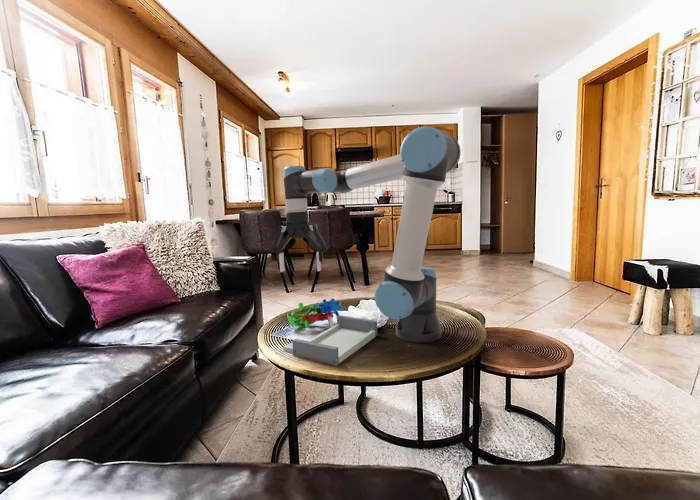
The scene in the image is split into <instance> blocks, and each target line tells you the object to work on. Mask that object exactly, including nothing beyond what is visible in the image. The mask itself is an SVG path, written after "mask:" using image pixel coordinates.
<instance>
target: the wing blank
mask: <svg viewBox="0 0 700 500" xmlns="http://www.w3.org/2000/svg"><path fill="white" fill-rule="evenodd" d="M298 339H299V338H298ZM299 340H301V339H299ZM303 340H304V339H303ZM304 341H306V340H304ZM282 350H283V352H287V353H291V354H293V344H292V341H291V342H290V343H288V344H286V345H284V346H283V349H282Z"/></svg>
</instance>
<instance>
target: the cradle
mask: <svg viewBox="0 0 700 500" xmlns="http://www.w3.org/2000/svg"><path fill="white" fill-rule="evenodd" d="M377 336H378V321H377V320H375V319H374V320H373V319H368V318H360V317H353V316H349V315H348V316H347V315H340V314H339V315H338V316H337V317H336V324H334V326H333V327H331V328H330V327H329V328H328V329H326V330H324V331H322V332H320V333H319V334H317V335H316V336H314V337H312V338H310V339H309V340H305V341H304V339H300V340H299V338H294V339H292V341H291V342H292V344H293V353H292V356H293V357H297V358H302V359H307V360H311V361H315V362H318V363H323V364H327V365H330V366H331V365H332V366H335V367H336V366H338V365H339V364H341V363H342V362H343V361H344V360H346V359H347V358H348V357H350V356H351V355H353V354H355V353H356V352H357V351H358V350H361V348H362V347H364V346H365V345H366V344H368V343H369V342H370V341H372V340H373V339H375V338H376V337H377Z"/></svg>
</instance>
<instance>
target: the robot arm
mask: <svg viewBox="0 0 700 500" xmlns="http://www.w3.org/2000/svg"><path fill="white" fill-rule="evenodd" d="M399 149H400V150H399V154H396V155H392V156H389V157H386V158H382V159H378V160H375V161H372V162H367V163H365V164H360V165H357V166H354V167H353V166H352V167H350V168H346V169H343V170H338V171H336V170H333V169H331V168H319V169H313V170H306V168H305V166H302V165H288V166H285V167H284V168H283V186H284V187H283V188H284V196H285V197H284V199H285V211H287V212H286V213H285V215H286V216H285V218H286V225H285V226H284V225H278V226H277V234H276V236H275V239H274V241H273V244H272V245H271V246H272V247H271V248H270V252H271V253H275V254H276V262H277V263H279V271H280V273H283V272H285V270H286V267H285V255H284V252H283V250H284V249H285V248H286V247H287V244H288V243H289V242H290V240H291V239H297V238H298V239H302V238H305V239H306V240H307V241H308V243H310V244H311V245H312V247H313V248H314V249H315V250H316V251H317V252H316V255H315V256H316V271H317V272H320V271H321V270H322V262H324V252H325V251H327V250H329V247H328V245H327V244H326V242H325V240H324V238H323V236H322V235H321V233H320V231H319V227H318V224H316V223H315V224H312V225H311V224H309V213H308V211H307V210H308V199H307V198H308V197H307V196H308V195H307V194H318V193H319V194H321V193H322V194H323V193H327V194H328V193H329V194H330V193H332V194H335V193H336V194H346V193H351V191H353V190H357V189H361V188H367V187H371V186H374V185H378V184H383V183H387V182H392V181H396V180H401V179H404V181H405V184H406V186H405V190H404V195H403V200H402V205H401V206H402V207H401V211H400V217H399V221H398V222H399V223H398V227H397V234H396V239H395V243H394V247H393V248H394V250H393V254H392V260H391V264H390V265H388V266H387V267H386V268H385V270H384V275H383V280H382V282H381V283H379V285H378V286H377V287H376V289H375V291H374V302H375V305H376V307H377V308H378V310H379V312H380V313H382V315H384V316H385V317H387V318H388V319H392V320H397V322H396V326H395V335H396V337H397V338H399V339H401V340H403V341H407V342H410V343H431V342H435V341H439V340H440V339H441V338H442V336H443V332H442V329H443V328H442V326H441V322H440V320H439V317H438V314H437V280H438V278H437V272H436V270H435V269H434V268H432V267H428V266H427V267H426V266H422V265H423V259H424V255H425V249H426V246H427V240H428V237H429V236H428V235H429V233H430V232H429V231H430V227H431V222H432V216H433V212H434V207H435V201H436V196H437V192H438V189H439V188H440V187H441V186H442V185H443V184H445V182H446V177H447V173H448V172H450V171H452V170H453V169H455V168H456V166H457V165H458V163H459V161H460V159H461V146H460V144H459V142H458V140H457V139H456V138H455V137H454V136H453V135H452V134H449V133H447V132H445V131H442V130H440V129H439V128H436V127H431V126H421V127H420V126H419V127H417V128H415V129H413V130H412V131H409V133H407V135H406V136H405V137H404V138H403V140H402V142H401V145H400V148H399ZM310 230H311V232H313V234H314V236H315V237H316V239H317V241H318V242H317V241H316V240H315V239H314V238H313V237H312V235H311V234H310V233H309V231H310ZM286 231H287V233H288V234H287V235H286V237H285V238H284V240H282V237H283V234H284V233H285V232H286ZM281 240H282V242H281ZM280 242H281V244H280ZM279 244H280V245H279Z"/></svg>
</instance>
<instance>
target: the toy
mask: <svg viewBox="0 0 700 500" xmlns="http://www.w3.org/2000/svg"><path fill="white" fill-rule="evenodd" d="M305 309H308V310H307V312H306V311H305ZM339 310H340V312H342V311H343V308H342V304H341V302H340V300H337V301H336V299H335V298H330V300H329V301H327V299H326V298H325V299H324V298H323V299H322V302H321V303H319V302H317V303H315V304H309V306H304V303H303V302H298V308H297V309H295V308H294V309H293V310H292V311H291V315H290V314H289V313H287V320H288V321H287V322H288V323H289V324H291V325H293V326H295V327H305V328H309V327H310V325H312V324H315V323H316V322H324V321H327V323H328V326H329V328H331V327H333V326H334V325H335V323H334V322H335V321H334V319H333V318H334V315H335V317H336V318H337V316H338V315H340V312H339ZM298 311H299V312H300V314H298ZM301 313H302V314H301ZM333 314H334V315H333ZM297 318H298V319H297Z"/></svg>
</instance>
